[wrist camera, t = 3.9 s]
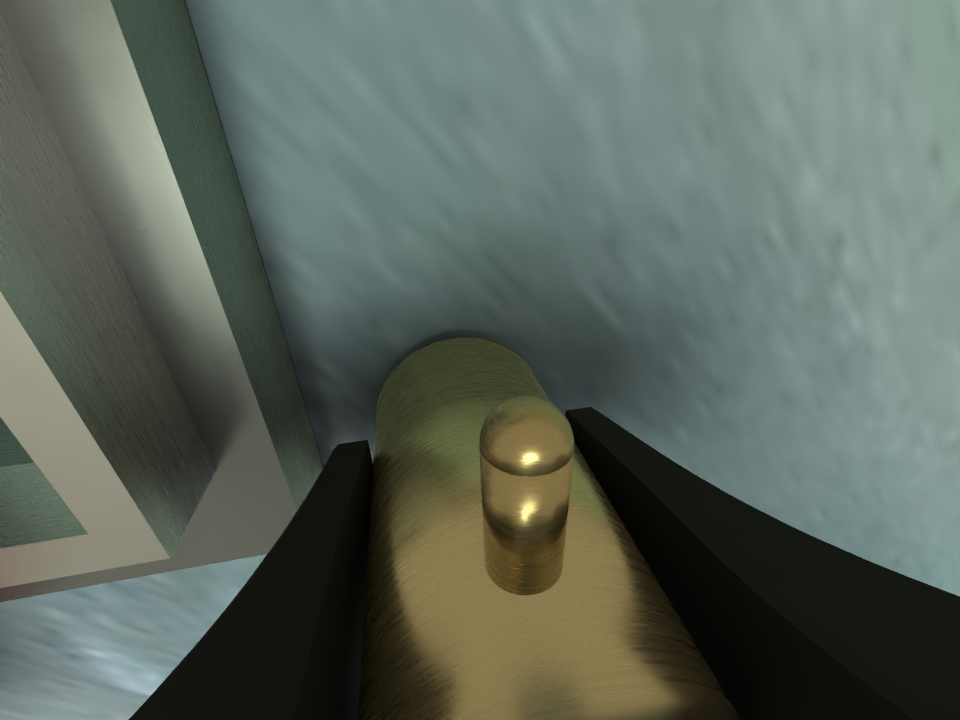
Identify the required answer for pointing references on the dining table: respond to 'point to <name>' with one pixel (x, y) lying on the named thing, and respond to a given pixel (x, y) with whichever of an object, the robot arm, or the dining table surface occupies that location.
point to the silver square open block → (131, 311)
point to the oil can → (507, 563)
